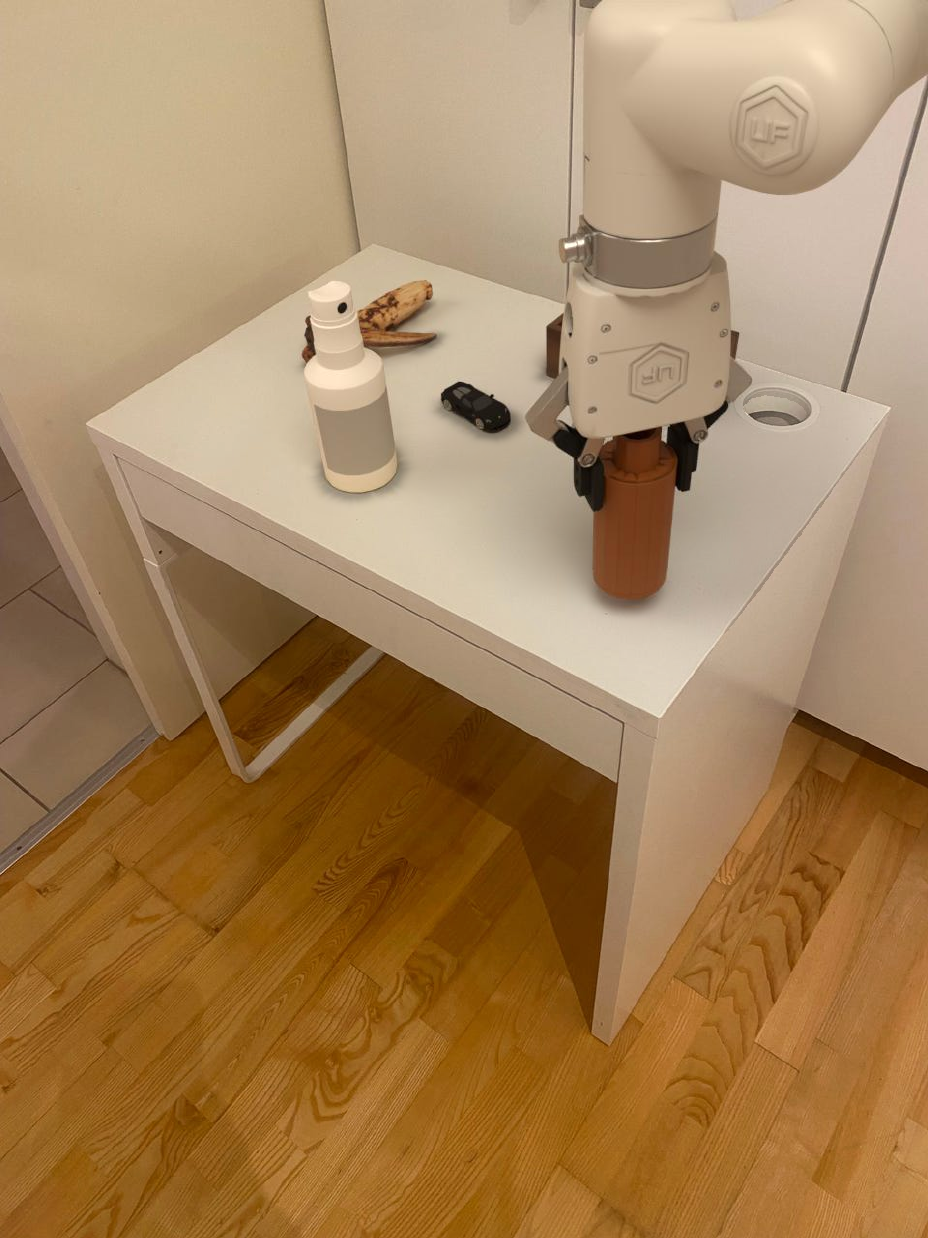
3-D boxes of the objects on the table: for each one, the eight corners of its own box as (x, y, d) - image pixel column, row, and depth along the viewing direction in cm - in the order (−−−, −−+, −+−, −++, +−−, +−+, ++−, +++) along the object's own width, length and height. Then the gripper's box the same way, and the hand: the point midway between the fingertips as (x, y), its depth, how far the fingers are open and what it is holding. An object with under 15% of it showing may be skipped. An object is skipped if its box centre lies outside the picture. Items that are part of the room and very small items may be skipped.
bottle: (671, 554, 75) (685, 409, 65) (660, 604, 71) (673, 457, 62) (600, 545, 76) (604, 401, 67) (586, 593, 73) (588, 448, 63)
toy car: (517, 422, 93) (516, 403, 91) (491, 437, 91) (490, 419, 90) (462, 390, 97) (460, 372, 95) (436, 405, 96) (434, 386, 94)
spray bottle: (352, 504, 86) (317, 322, 73) (311, 470, 90) (270, 291, 76) (412, 471, 88) (389, 289, 75) (370, 439, 92) (340, 261, 79)
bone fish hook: (345, 395, 99) (469, 321, 106) (338, 356, 95) (467, 282, 103) (290, 361, 103) (413, 292, 111) (282, 322, 100) (409, 254, 107)
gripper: (521, 300, 52) (532, 549, 65) (818, 242, 53) (771, 496, 66) (487, 242, 57) (503, 484, 70) (759, 191, 58) (725, 435, 71)
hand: (634, 487), depth 68 cm, fingers closed on bottle, 5 cm apart
